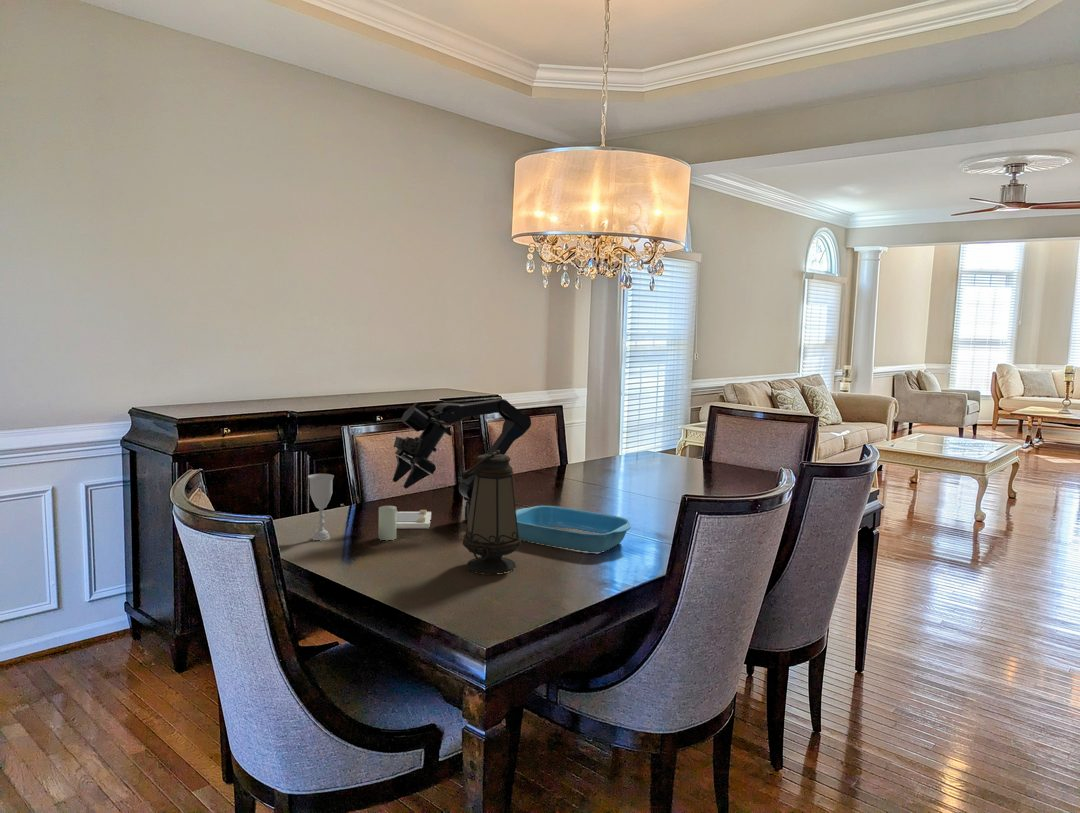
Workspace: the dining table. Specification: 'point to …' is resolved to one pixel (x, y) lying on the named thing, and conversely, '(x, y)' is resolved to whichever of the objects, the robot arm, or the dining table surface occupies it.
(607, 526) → the casserole dish
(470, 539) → the lantern
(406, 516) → the display tile
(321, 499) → the chalice
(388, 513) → the sage green capsule
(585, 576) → the dining table surface
